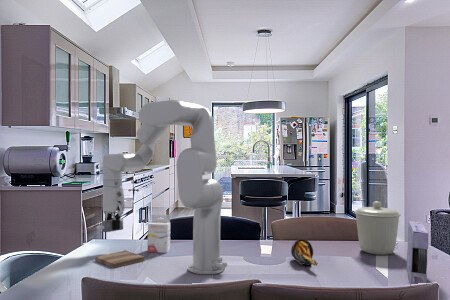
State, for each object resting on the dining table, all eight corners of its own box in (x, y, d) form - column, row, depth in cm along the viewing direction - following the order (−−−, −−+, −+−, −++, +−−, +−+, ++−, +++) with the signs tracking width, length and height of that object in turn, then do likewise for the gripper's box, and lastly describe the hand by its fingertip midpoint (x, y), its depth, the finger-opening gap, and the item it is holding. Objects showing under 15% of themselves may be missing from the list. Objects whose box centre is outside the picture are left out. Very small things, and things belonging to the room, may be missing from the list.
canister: (410, 255, 156) (411, 203, 156) (375, 259, 150) (375, 205, 150) (377, 245, 173) (378, 198, 173) (344, 248, 166) (345, 199, 167)
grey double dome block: (125, 229, 161) (125, 219, 161) (100, 233, 153) (100, 223, 153) (119, 228, 163) (119, 218, 163) (95, 232, 155) (95, 222, 155)
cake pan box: (428, 291, 116) (429, 231, 116) (410, 288, 118) (410, 230, 118) (422, 272, 134) (422, 221, 134) (406, 271, 136) (406, 220, 136)
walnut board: (144, 260, 146) (144, 256, 146) (114, 268, 137) (114, 263, 137) (125, 254, 155) (125, 250, 155) (95, 260, 145) (95, 256, 145)
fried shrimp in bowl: (306, 244, 154) (334, 239, 138) (302, 272, 149) (330, 270, 133) (286, 237, 152) (312, 230, 136) (281, 265, 147) (307, 262, 131)
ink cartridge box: (147, 252, 158) (147, 216, 158) (150, 249, 163) (150, 214, 163) (167, 253, 158) (167, 216, 158) (170, 250, 162) (170, 214, 163)
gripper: (132, 184, 156) (132, 229, 156) (109, 182, 167) (110, 225, 167) (115, 185, 151) (115, 232, 150) (93, 183, 162) (94, 227, 162)
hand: (112, 228), depth 159 cm, fingers closed on grey double dome block, 4 cm apart
